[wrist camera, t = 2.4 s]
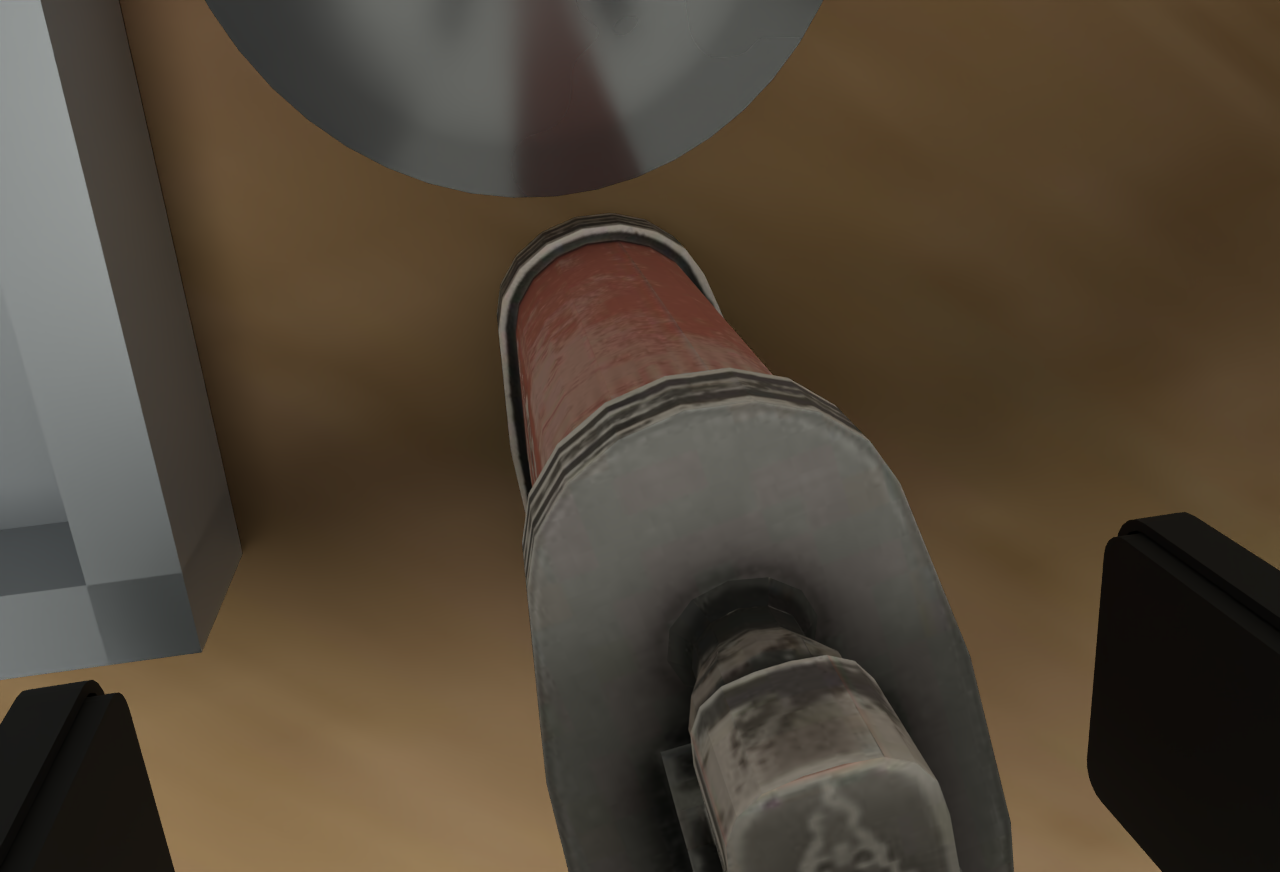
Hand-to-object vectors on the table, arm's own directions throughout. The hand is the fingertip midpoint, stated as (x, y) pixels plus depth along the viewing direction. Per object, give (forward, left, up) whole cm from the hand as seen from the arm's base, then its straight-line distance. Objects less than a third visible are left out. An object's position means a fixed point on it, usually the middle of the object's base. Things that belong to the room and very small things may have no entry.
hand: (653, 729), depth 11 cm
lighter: (-1, 0, -5) cm, 5 cm away
